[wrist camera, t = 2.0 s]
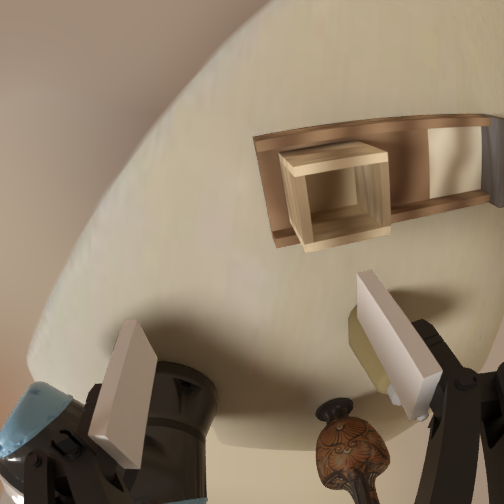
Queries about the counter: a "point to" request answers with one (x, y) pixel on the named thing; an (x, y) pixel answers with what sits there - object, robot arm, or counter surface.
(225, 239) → the counter surface
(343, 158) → the crate
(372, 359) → the squeeze bottle
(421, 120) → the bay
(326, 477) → the vase
